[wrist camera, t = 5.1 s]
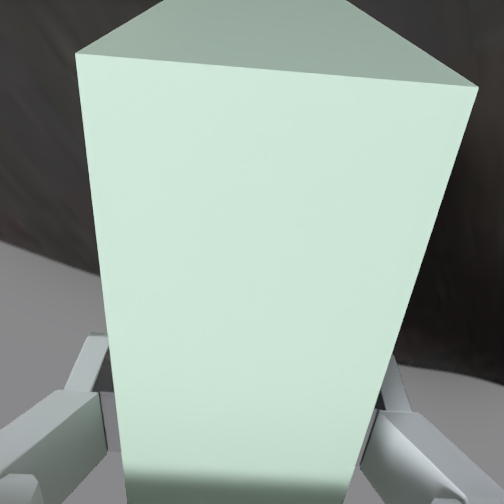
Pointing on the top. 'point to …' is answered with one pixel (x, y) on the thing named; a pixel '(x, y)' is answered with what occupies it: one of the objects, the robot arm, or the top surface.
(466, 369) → the top surface
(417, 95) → the sage plate
